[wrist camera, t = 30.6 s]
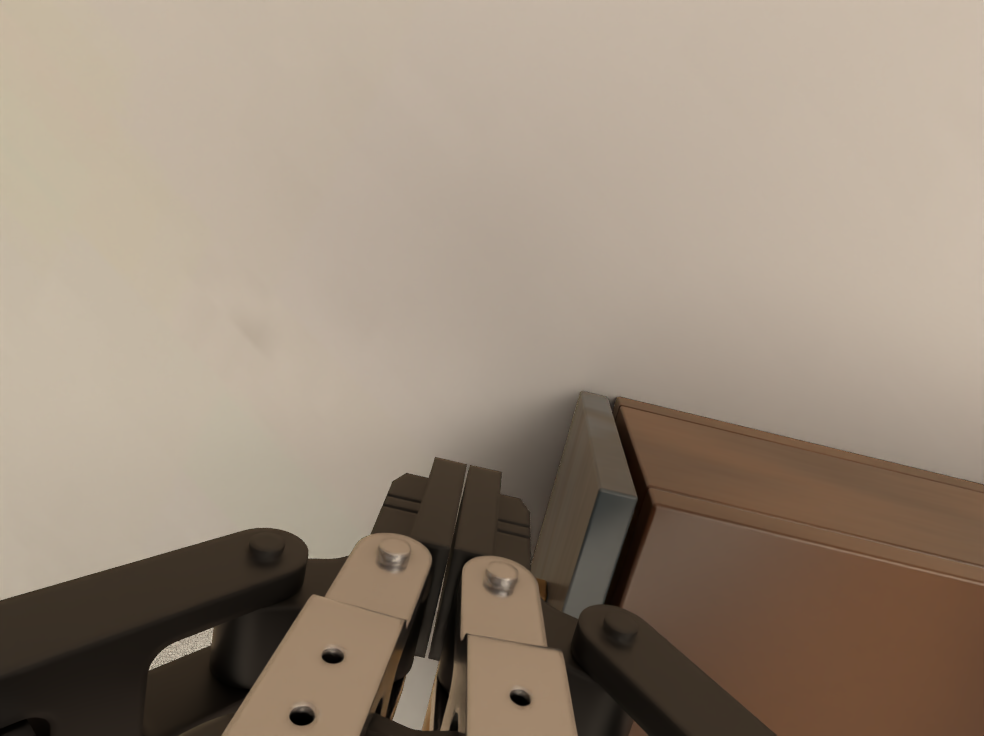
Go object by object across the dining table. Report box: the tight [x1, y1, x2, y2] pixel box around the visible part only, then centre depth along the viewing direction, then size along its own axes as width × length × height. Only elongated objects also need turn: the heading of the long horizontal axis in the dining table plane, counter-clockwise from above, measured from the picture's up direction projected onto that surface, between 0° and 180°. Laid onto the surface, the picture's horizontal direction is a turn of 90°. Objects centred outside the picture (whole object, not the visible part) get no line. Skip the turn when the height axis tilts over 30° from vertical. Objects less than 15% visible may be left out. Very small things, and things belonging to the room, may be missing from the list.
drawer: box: [422, 391, 638, 731], centre depth 19 cm, size 18×14×6 cm
